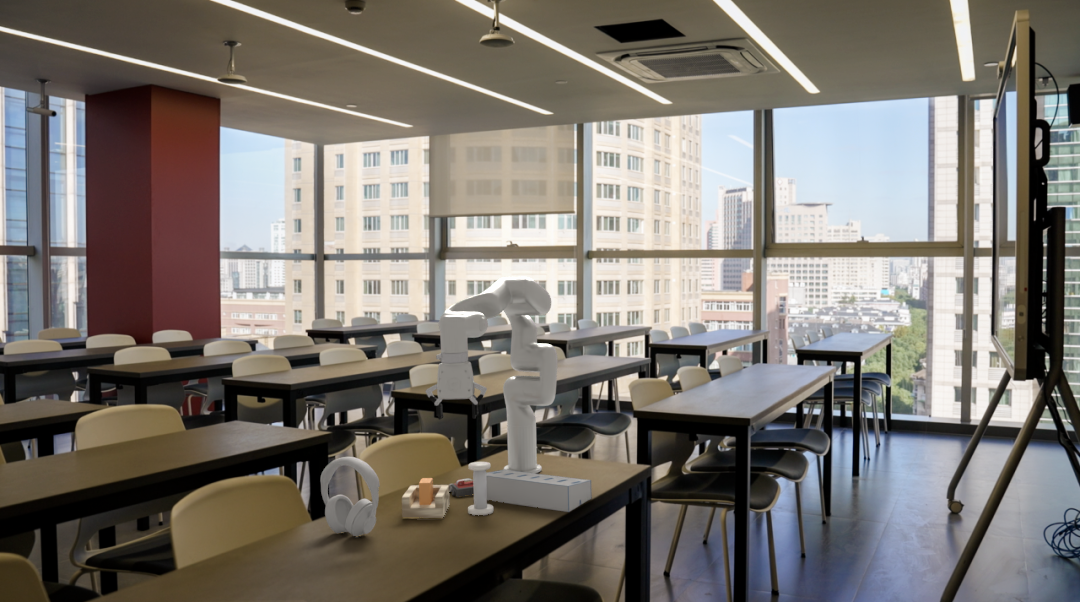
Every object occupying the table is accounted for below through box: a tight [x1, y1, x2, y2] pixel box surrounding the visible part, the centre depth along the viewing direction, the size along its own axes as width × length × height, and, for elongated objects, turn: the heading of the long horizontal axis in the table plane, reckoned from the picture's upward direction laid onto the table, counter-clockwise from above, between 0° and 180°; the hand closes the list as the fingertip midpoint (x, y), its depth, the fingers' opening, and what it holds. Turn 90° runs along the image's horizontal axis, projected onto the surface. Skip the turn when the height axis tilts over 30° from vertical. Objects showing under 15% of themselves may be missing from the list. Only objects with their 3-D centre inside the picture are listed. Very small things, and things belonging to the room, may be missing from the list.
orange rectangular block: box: [418, 477, 434, 505], centre depth 214 cm, size 5×3×6 cm, turn 179°
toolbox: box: [449, 477, 474, 498], centre depth 234 cm, size 9×4×20 cm
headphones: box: [319, 456, 380, 537], centre depth 197 cm, size 18×8×20 cm, turn 60°
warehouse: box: [486, 469, 592, 513], centre depth 226 cm, size 30×14×8 cm, turn 61°
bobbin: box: [467, 461, 494, 517], centre depth 214 cm, size 7×7×13 cm
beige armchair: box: [401, 484, 451, 519], centre depth 215 cm, size 12×11×6 cm
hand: (457, 418), depth 220 cm, fingers open, 9 cm apart
